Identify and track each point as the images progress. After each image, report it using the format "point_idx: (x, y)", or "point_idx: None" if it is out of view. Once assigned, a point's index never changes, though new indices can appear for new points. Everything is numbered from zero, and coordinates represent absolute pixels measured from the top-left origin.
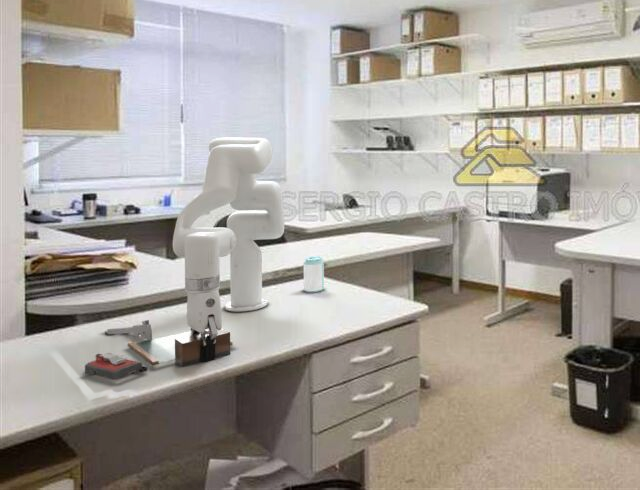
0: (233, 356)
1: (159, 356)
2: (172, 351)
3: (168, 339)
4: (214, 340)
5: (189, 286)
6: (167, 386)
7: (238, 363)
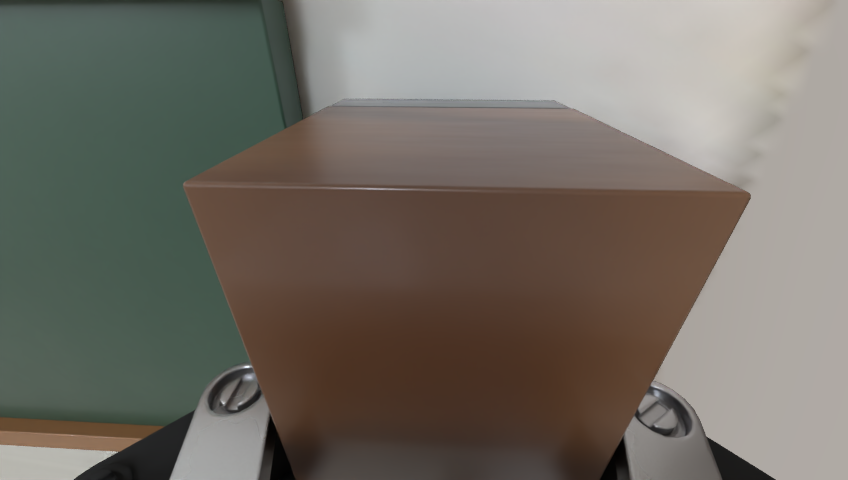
0: (499, 36)
1: None
2: (171, 355)
3: None
4: (757, 470)
5: None
6: None
7: (720, 89)
